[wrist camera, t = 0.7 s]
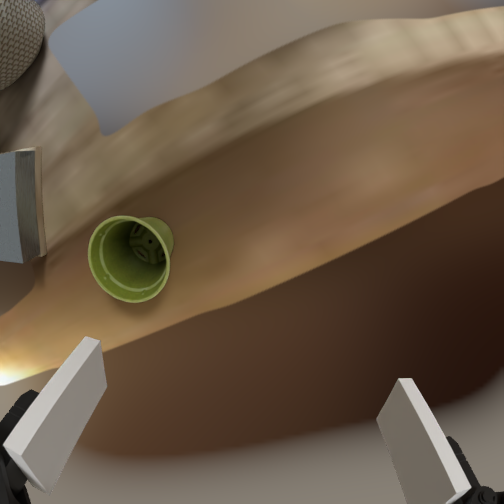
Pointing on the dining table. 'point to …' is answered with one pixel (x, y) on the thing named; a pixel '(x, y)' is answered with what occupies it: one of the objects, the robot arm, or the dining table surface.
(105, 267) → the plant pot
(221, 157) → the dining table surface
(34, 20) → the planter
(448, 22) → the dining table surface
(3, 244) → the block
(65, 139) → the dining table surface
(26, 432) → the robot arm
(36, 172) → the cradle
